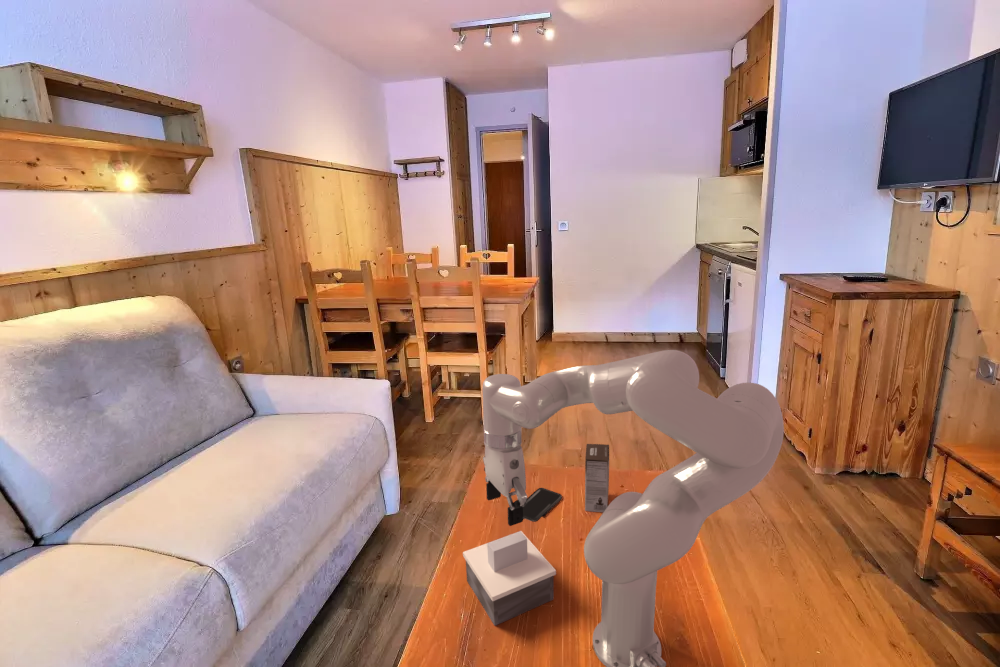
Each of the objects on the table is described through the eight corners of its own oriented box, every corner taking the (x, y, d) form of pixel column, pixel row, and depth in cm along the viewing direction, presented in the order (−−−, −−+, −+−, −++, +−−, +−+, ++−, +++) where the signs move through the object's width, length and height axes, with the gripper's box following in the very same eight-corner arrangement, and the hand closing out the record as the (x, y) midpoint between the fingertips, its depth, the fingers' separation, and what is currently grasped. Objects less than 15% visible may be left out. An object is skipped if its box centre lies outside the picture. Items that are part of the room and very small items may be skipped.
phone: (511, 512, 134) (540, 486, 146) (511, 516, 135) (540, 490, 146) (535, 522, 130) (563, 494, 141) (535, 526, 130) (563, 498, 142)
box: (553, 601, 105) (553, 573, 103) (494, 628, 99) (493, 599, 97) (521, 561, 117) (520, 535, 115) (467, 582, 111) (465, 556, 109)
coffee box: (585, 492, 143) (586, 442, 139) (608, 494, 142) (609, 444, 138) (584, 511, 135) (585, 458, 131) (608, 513, 133) (609, 460, 129)
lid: (555, 574, 103) (555, 549, 101) (492, 601, 96) (491, 575, 95) (521, 534, 116) (520, 512, 114) (463, 556, 109) (461, 532, 108)
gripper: (541, 450, 93) (541, 528, 97) (499, 415, 107) (501, 485, 112) (506, 460, 89) (507, 540, 94) (468, 423, 104) (471, 494, 109)
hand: (504, 510), depth 103 cm, fingers open, 9 cm apart
